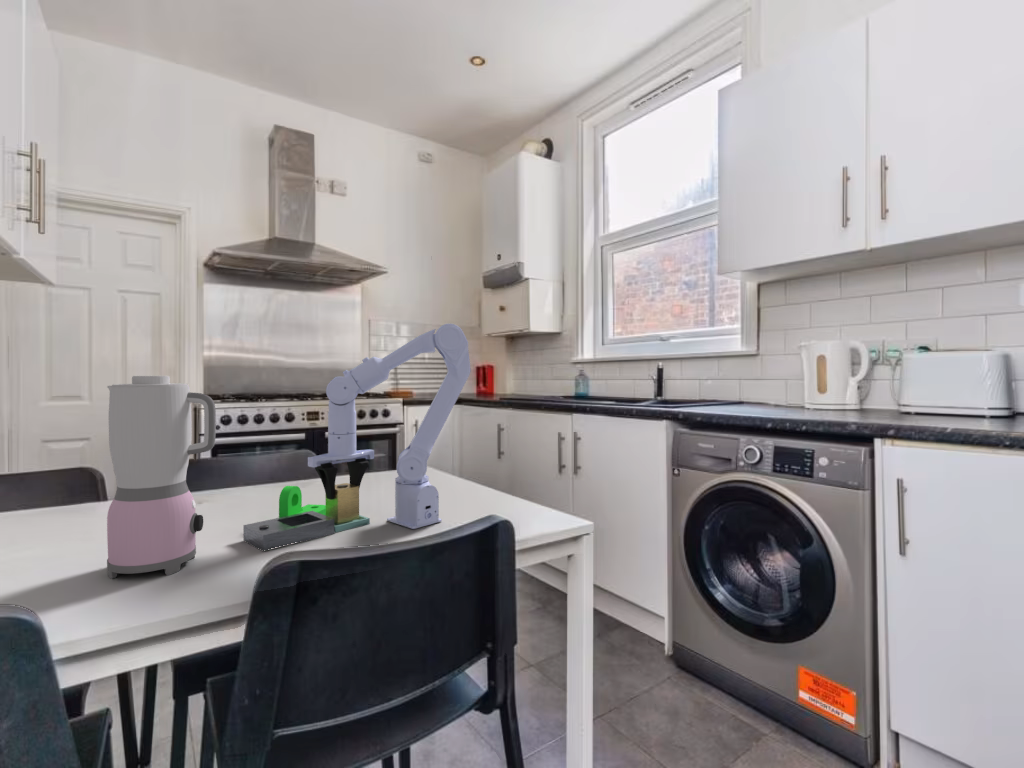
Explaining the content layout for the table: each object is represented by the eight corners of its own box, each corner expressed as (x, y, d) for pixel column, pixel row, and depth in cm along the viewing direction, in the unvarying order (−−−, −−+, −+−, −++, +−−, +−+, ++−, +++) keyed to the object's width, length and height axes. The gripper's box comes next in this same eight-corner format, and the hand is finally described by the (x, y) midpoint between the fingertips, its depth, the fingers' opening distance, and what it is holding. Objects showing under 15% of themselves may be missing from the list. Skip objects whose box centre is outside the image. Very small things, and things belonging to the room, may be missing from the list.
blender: (90, 585, 79) (87, 376, 78) (125, 557, 91) (122, 375, 90) (207, 574, 83) (204, 376, 83) (225, 549, 95) (223, 375, 94)
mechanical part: (305, 527, 108) (306, 489, 108) (278, 526, 108) (279, 488, 109) (332, 513, 120) (332, 479, 120) (308, 512, 120) (308, 478, 120)
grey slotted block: (334, 533, 104) (334, 517, 104) (263, 551, 94) (263, 533, 94) (312, 524, 110) (312, 509, 110) (243, 540, 100) (243, 523, 100)
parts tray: (369, 523, 111) (369, 518, 111) (335, 532, 105) (335, 526, 105) (349, 516, 116) (349, 511, 116) (315, 524, 110) (315, 519, 110)
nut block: (359, 518, 111) (359, 485, 111) (337, 523, 107) (337, 489, 107) (346, 514, 114) (346, 482, 114) (325, 519, 110) (325, 485, 110)
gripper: (361, 428, 118) (362, 487, 119) (300, 434, 107) (300, 499, 108) (379, 431, 114) (379, 492, 114) (317, 437, 103) (317, 505, 103)
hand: (342, 496), depth 110 cm, fingers closed on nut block, 5 cm apart
